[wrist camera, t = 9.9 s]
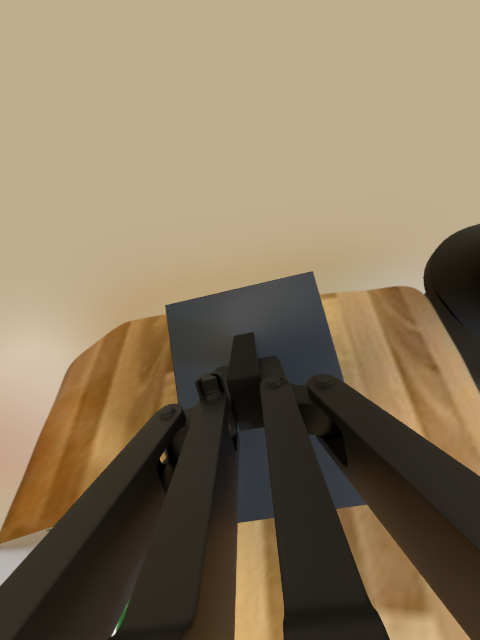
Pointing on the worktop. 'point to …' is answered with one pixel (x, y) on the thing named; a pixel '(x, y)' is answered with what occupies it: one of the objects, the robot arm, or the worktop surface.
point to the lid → (272, 339)
